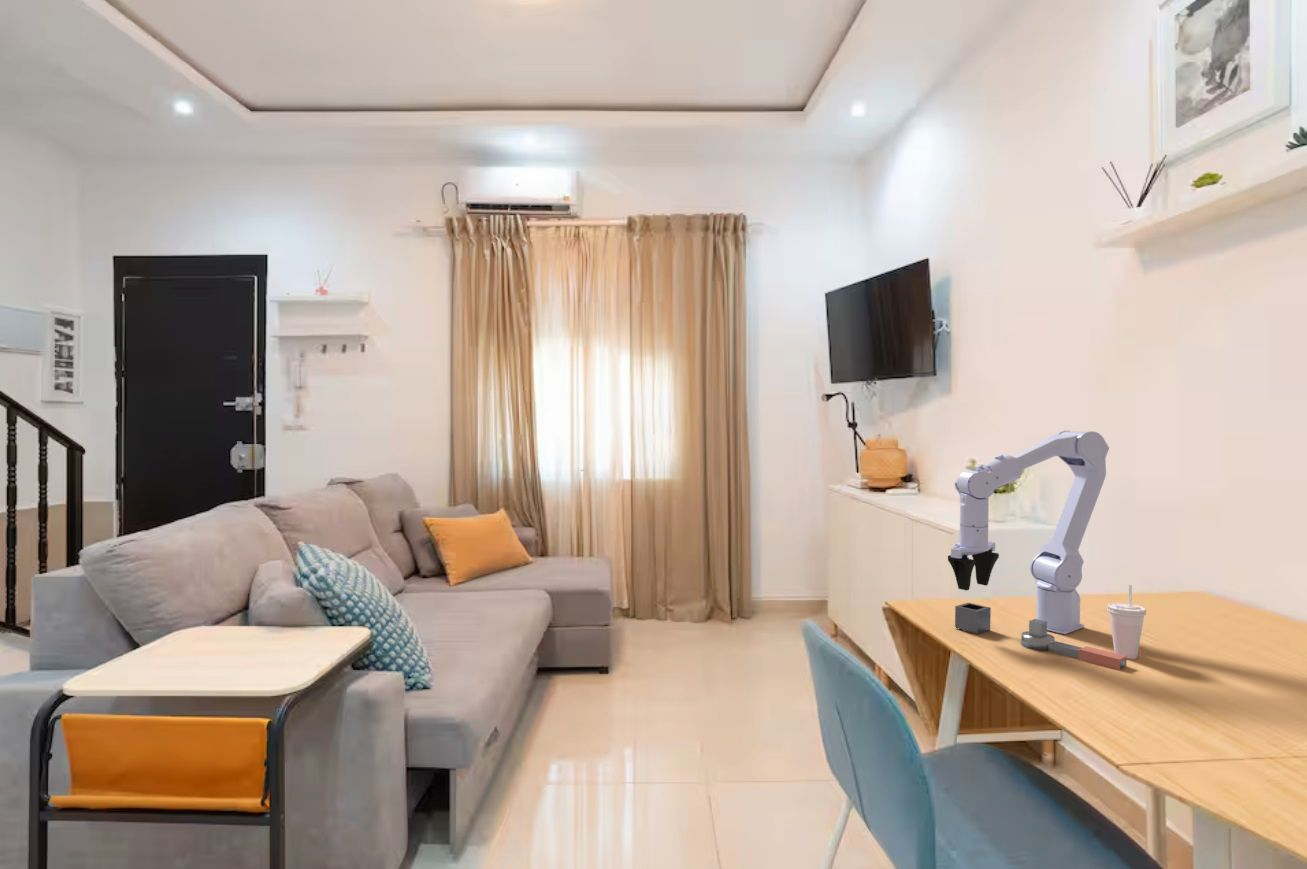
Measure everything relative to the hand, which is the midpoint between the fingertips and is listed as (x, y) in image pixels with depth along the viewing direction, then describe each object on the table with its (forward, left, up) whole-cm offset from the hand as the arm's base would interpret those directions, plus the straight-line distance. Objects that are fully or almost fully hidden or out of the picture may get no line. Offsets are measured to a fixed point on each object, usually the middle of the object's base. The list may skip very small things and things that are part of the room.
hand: (973, 587), depth 156 cm
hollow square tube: (0, 0, -9) cm, 9 cm away
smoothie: (-8, +27, -10) cm, 30 cm away
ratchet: (0, +20, -10) cm, 22 cm away
